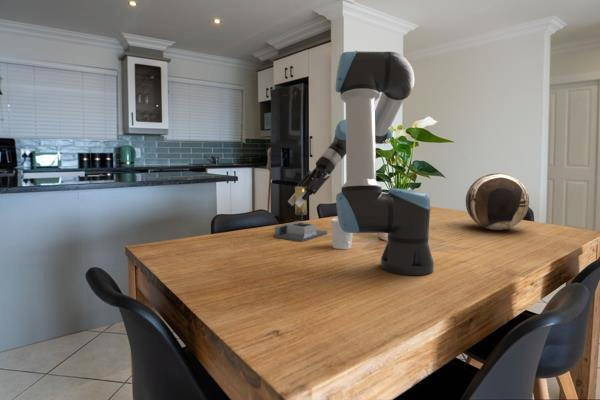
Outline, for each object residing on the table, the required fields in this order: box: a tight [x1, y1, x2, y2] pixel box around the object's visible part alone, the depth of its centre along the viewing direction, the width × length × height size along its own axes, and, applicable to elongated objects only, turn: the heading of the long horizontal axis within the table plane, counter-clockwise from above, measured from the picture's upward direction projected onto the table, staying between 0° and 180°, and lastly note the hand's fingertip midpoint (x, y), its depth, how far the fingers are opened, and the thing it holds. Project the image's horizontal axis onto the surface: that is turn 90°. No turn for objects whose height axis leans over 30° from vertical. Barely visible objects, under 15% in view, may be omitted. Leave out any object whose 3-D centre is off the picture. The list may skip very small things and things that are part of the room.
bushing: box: [294, 185, 308, 216], centre depth 157 cm, size 5×5×11 cm
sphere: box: [465, 172, 530, 231], centre depth 173 cm, size 25×25×25 cm
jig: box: [273, 220, 328, 243], centre depth 159 cm, size 18×14×5 cm
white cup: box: [330, 217, 354, 250], centre depth 140 cm, size 8×8×10 cm
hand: (293, 204), depth 155 cm, fingers closed on bushing, 5 cm apart
